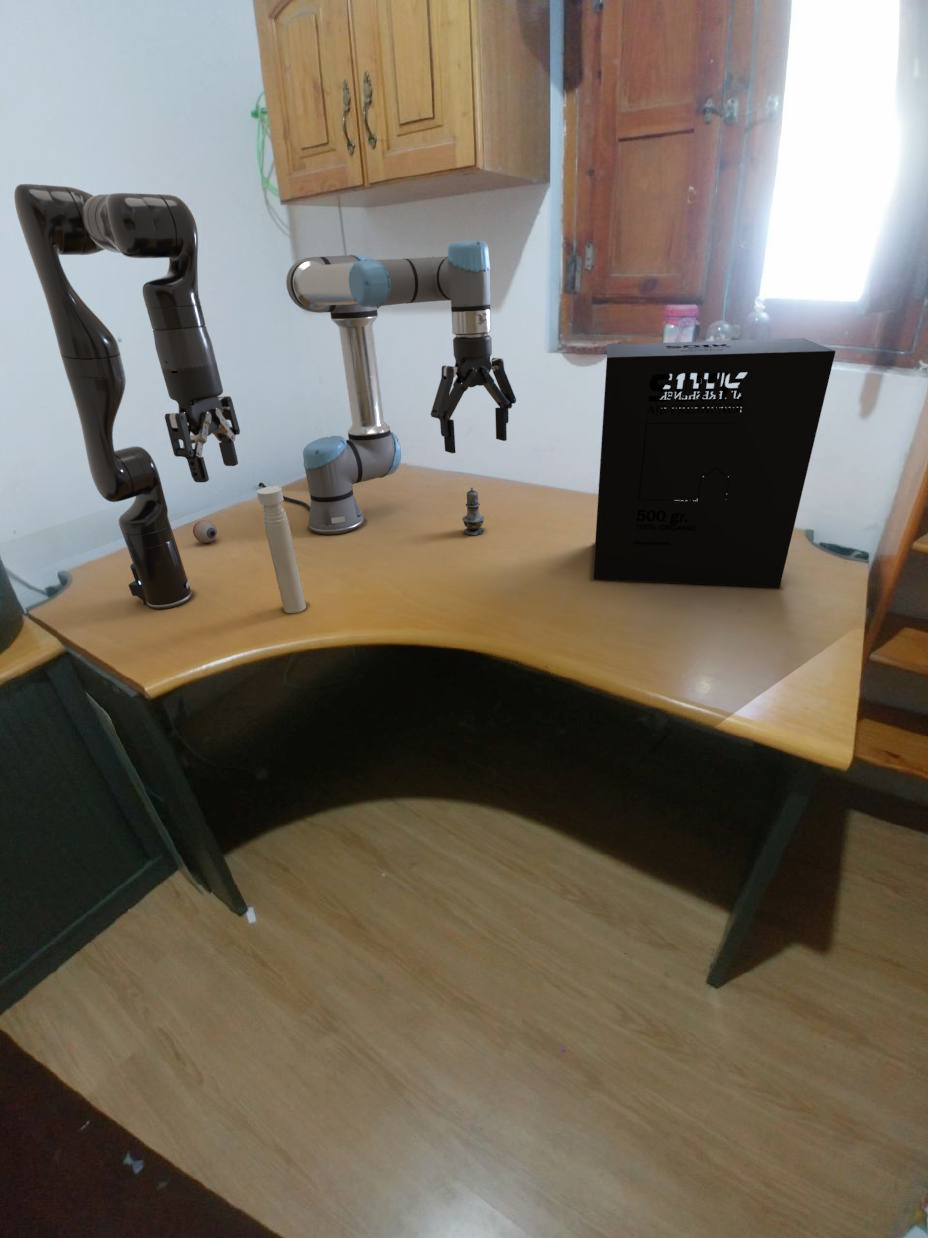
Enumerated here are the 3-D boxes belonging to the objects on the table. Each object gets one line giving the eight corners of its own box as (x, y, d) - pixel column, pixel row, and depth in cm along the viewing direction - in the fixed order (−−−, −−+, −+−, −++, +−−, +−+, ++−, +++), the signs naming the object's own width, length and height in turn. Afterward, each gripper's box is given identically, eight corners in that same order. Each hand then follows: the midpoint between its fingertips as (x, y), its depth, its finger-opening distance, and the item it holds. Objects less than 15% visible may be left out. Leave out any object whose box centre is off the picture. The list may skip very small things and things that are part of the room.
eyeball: (206, 547, 159) (200, 526, 156) (191, 543, 162) (185, 522, 159) (225, 539, 164) (219, 518, 161) (210, 536, 167) (204, 515, 164)
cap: (279, 504, 114) (277, 493, 113) (256, 505, 114) (253, 494, 113) (286, 496, 118) (284, 485, 117) (264, 497, 118) (261, 486, 117)
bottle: (302, 613, 126) (277, 495, 113) (281, 613, 126) (253, 496, 113) (308, 602, 130) (285, 487, 117) (287, 602, 130) (261, 488, 117)
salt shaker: (482, 535, 157) (481, 491, 151) (460, 535, 158) (458, 490, 152) (486, 527, 162) (485, 483, 156) (465, 526, 163) (463, 483, 157)
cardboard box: (759, 548, 141) (803, 338, 119) (779, 587, 124) (835, 350, 102) (595, 543, 149) (607, 344, 126) (593, 579, 132) (607, 357, 109)
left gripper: (194, 356, 93) (220, 460, 102) (133, 370, 81) (168, 487, 90) (237, 355, 92) (260, 460, 100) (182, 369, 80) (213, 488, 88)
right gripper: (429, 342, 108) (437, 460, 118) (533, 329, 120) (532, 437, 131) (407, 340, 113) (417, 454, 124) (508, 328, 125) (510, 432, 136)
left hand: (217, 473), depth 95 cm, fingers open, 8 cm apart
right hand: (476, 445), depth 127 cm, fingers open, 13 cm apart
